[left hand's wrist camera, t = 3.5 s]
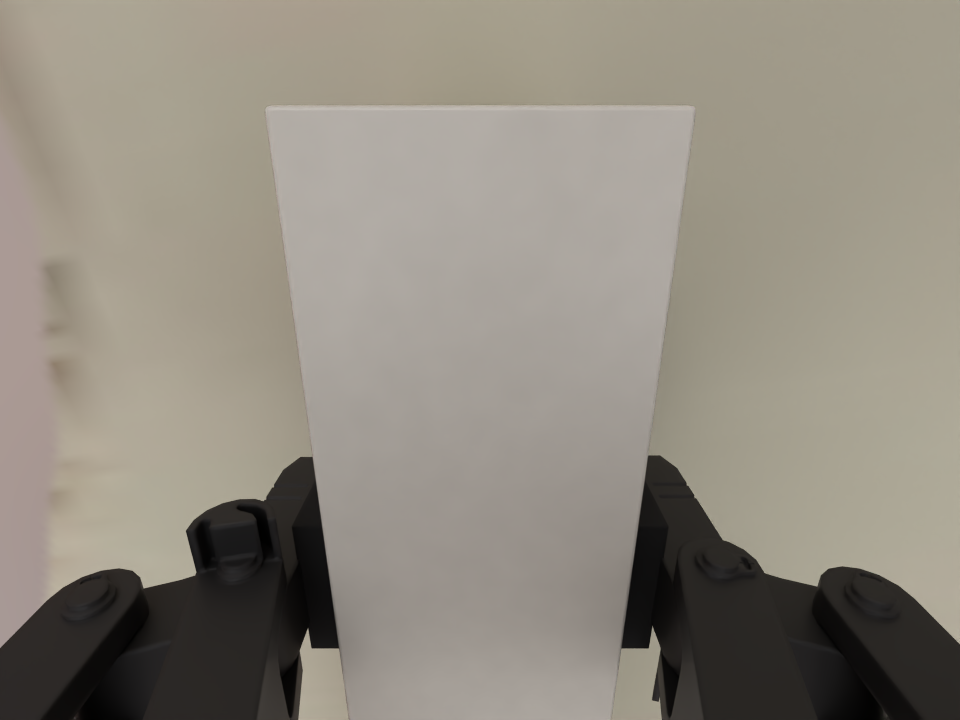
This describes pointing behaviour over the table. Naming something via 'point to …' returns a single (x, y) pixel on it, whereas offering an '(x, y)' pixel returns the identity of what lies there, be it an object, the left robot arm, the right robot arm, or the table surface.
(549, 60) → the table surface
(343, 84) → the table surface
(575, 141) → the bar
